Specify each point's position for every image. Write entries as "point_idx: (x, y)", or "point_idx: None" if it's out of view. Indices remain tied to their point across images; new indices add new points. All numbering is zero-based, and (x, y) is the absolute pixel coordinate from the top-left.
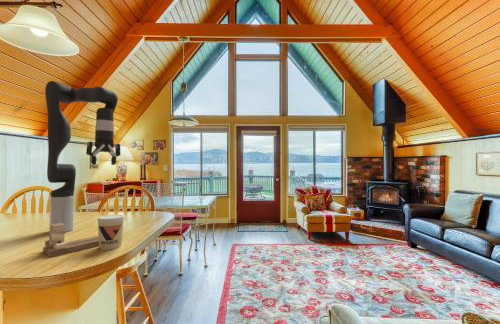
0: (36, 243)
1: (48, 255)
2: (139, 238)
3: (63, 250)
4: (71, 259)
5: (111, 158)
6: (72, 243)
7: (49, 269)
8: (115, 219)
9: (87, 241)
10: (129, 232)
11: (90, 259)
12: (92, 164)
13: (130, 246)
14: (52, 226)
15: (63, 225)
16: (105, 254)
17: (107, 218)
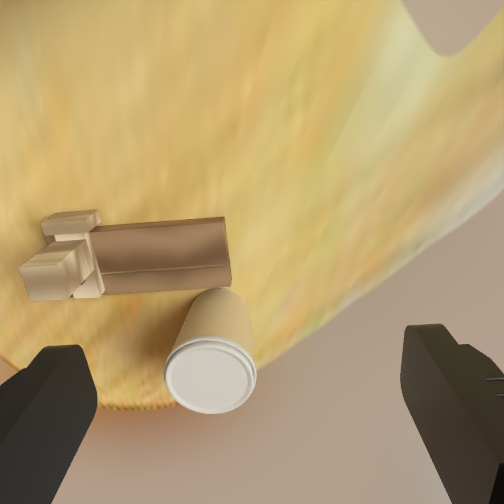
0: (29, 79)
1: None
2: (324, 299)
3: None
4: (114, 340)
5: (476, 431)
6: (123, 260)
7: None
8: (210, 411)
9: (165, 271)
10: (350, 193)
11: (149, 370)
12: (53, 350)
13: (261, 350)
14: (30, 293)
15: (65, 297)
16: None
17: (190, 392)
